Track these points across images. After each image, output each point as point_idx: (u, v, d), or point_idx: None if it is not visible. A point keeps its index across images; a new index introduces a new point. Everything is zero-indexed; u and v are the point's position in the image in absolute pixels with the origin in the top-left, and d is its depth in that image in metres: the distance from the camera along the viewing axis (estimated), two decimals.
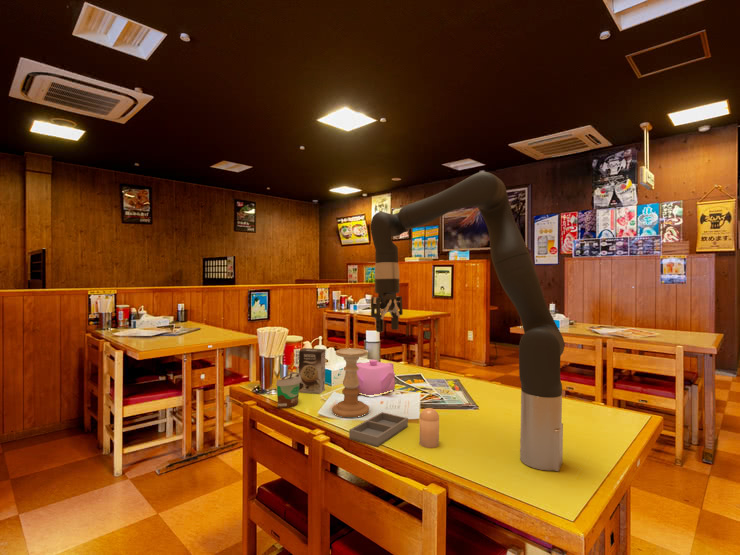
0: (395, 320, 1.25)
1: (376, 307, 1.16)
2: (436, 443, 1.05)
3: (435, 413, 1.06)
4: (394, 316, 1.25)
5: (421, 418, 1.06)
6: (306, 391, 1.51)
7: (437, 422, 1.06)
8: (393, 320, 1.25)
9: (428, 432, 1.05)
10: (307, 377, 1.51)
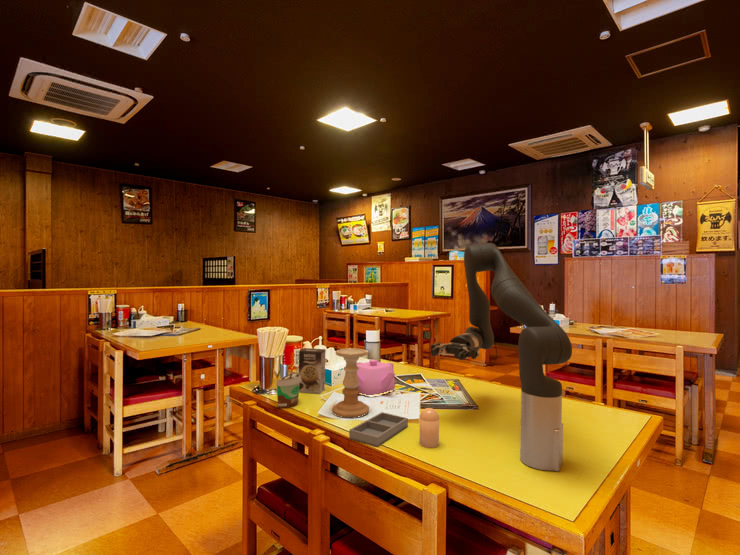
0: None
1: None
2: (436, 443, 1.05)
3: (435, 413, 1.06)
4: None
5: (421, 418, 1.06)
6: (306, 391, 1.51)
7: (437, 422, 1.06)
8: None
9: (428, 432, 1.05)
10: (307, 377, 1.51)
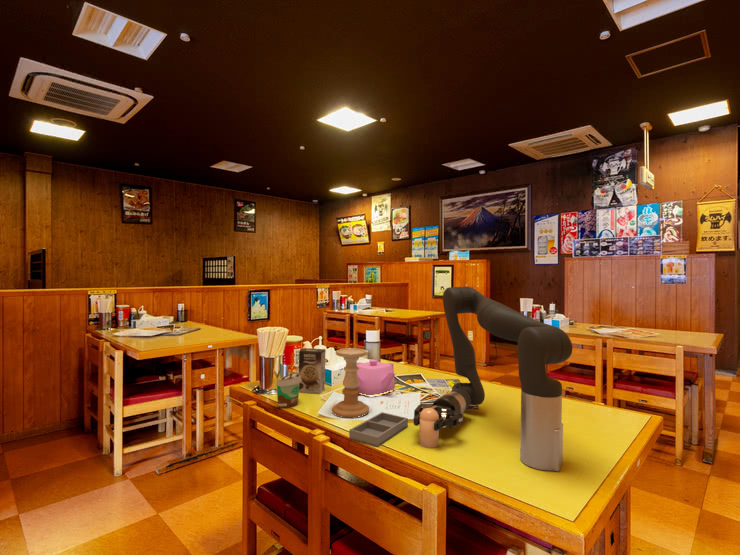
0: None
1: None
2: (436, 443, 1.05)
3: (435, 413, 1.06)
4: None
5: (421, 418, 1.06)
6: (306, 391, 1.51)
7: None
8: None
9: (428, 432, 1.05)
10: (307, 377, 1.51)
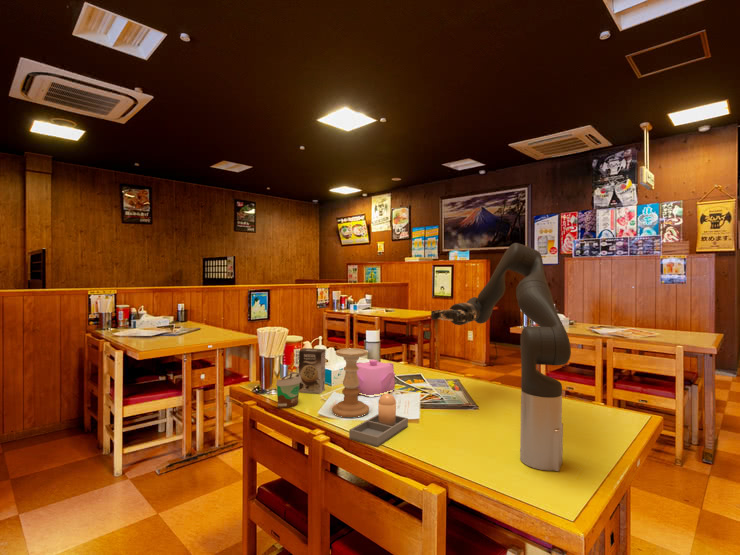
0: None
1: None
2: (392, 425, 1.16)
3: (392, 398, 1.17)
4: None
5: (379, 402, 1.17)
6: (306, 391, 1.51)
7: (393, 406, 1.16)
8: None
9: (385, 414, 1.16)
10: (307, 377, 1.51)
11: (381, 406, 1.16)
